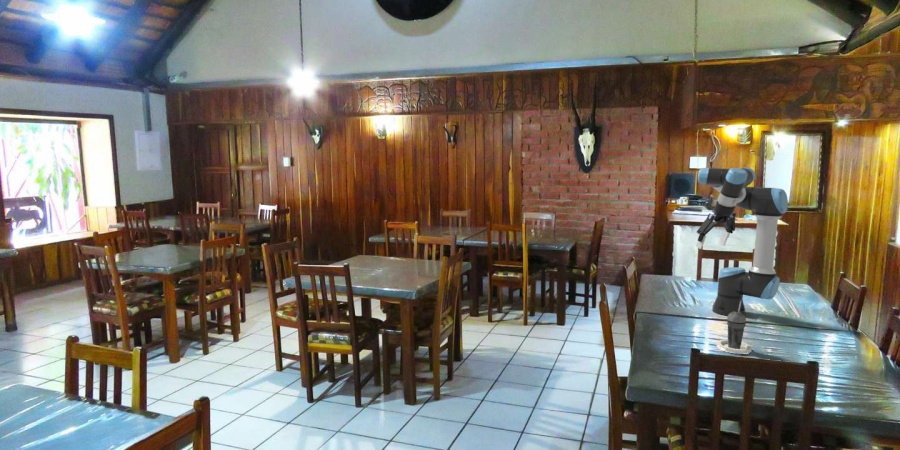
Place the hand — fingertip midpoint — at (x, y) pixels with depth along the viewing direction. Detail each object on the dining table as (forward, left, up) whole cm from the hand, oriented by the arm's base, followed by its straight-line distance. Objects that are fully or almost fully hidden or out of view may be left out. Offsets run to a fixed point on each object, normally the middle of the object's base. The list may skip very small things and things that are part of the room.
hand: (710, 245), depth 248 cm
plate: (-6, +22, -40) cm, 46 cm away
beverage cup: (-6, +22, -39) cm, 45 cm away
